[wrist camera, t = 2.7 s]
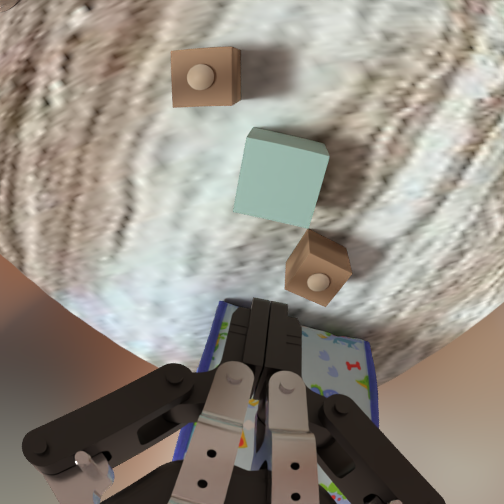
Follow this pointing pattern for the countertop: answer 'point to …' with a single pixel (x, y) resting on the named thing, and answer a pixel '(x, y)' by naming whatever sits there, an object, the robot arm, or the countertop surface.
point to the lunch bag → (313, 374)
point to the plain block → (280, 177)
